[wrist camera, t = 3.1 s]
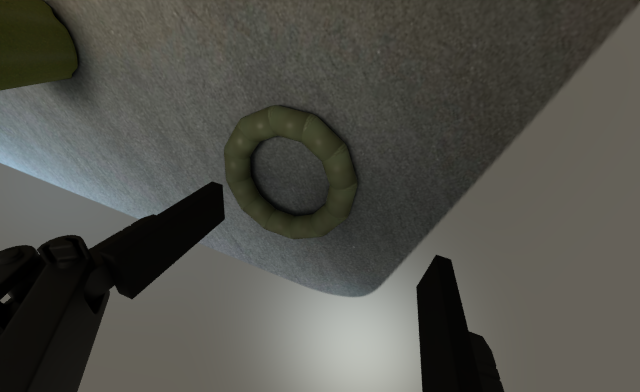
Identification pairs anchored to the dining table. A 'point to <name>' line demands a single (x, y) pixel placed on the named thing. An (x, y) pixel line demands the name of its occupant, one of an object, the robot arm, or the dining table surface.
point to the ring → (318, 142)
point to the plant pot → (33, 45)
